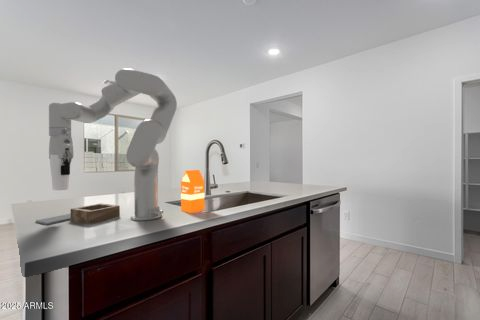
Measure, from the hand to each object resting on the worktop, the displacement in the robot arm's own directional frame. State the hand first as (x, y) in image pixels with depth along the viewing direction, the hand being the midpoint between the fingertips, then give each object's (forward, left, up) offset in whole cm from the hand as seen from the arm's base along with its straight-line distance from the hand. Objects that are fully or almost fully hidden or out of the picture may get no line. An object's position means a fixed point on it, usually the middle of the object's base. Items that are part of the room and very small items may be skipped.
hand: (60, 174), depth 99 cm
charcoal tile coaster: (0, 0, -19) cm, 19 cm away
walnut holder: (-13, -7, -19) cm, 24 cm away
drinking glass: (0, 0, -7) cm, 7 cm away
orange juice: (-41, -38, -20) cm, 59 cm away
